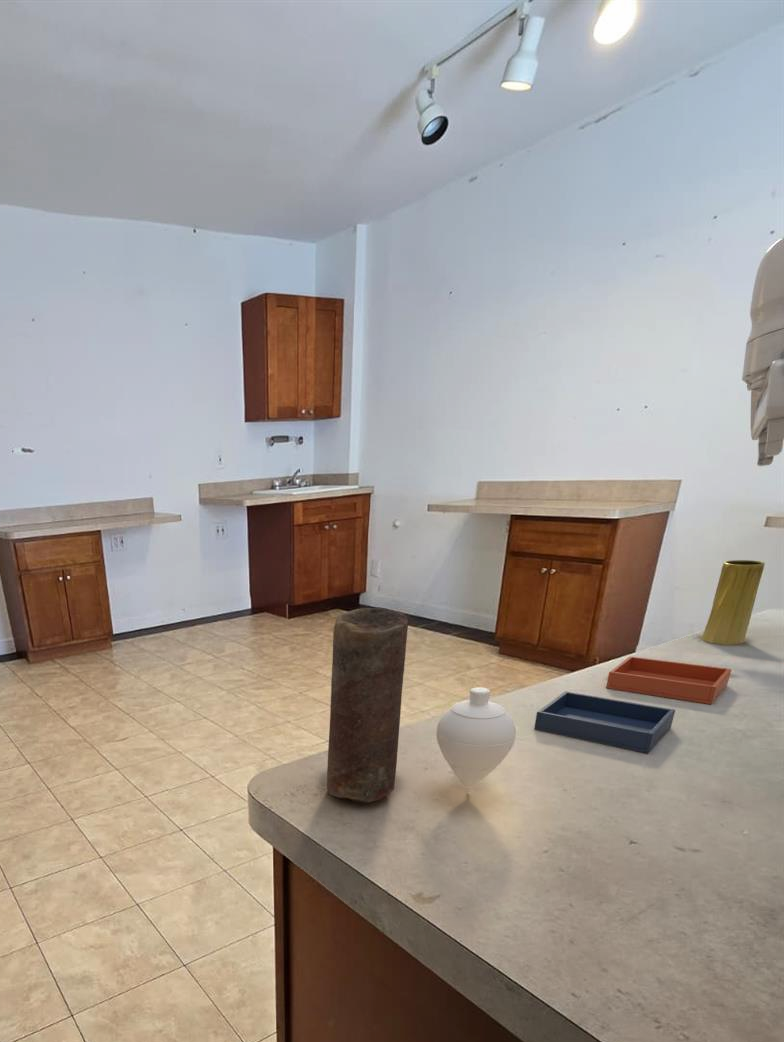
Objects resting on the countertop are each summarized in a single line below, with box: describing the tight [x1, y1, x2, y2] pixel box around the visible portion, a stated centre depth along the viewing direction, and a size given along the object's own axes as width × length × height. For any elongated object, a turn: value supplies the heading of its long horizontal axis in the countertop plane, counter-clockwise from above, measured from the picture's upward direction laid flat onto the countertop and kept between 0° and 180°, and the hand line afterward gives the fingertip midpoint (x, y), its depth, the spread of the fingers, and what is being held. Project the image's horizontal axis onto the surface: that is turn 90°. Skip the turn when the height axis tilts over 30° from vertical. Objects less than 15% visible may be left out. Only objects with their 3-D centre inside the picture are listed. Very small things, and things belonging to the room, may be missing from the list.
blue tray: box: [534, 691, 676, 754], centre depth 82 cm, size 13×10×2 cm
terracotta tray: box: [605, 656, 732, 705], centre depth 94 cm, size 13×10×2 cm
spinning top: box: [435, 686, 517, 795], centre depth 67 cm, size 8×8×12 cm
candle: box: [326, 607, 409, 804], centre depth 67 cm, size 8×7×20 cm
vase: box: [701, 559, 766, 646], centre depth 106 cm, size 6×6×14 cm
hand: (768, 460), depth 97 cm, fingers open, 8 cm apart
